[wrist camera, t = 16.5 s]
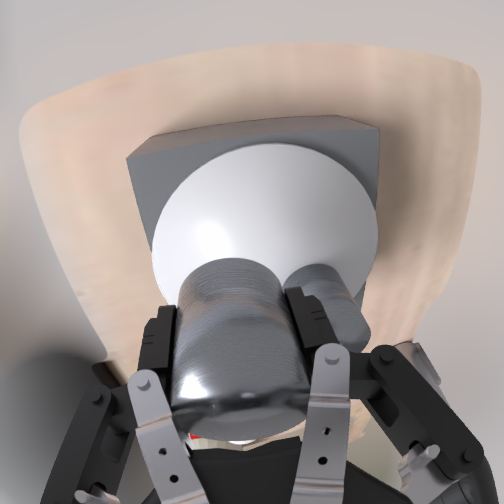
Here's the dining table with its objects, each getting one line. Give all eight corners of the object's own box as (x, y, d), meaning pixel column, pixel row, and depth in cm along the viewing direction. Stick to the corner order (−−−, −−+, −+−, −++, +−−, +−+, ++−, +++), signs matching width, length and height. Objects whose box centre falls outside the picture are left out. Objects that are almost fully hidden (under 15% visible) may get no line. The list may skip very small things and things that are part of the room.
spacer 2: (343, 258, 22) (376, 311, 17) (338, 306, 25) (363, 359, 20) (279, 269, 22) (299, 328, 17) (282, 317, 24) (298, 375, 19)
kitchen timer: (244, 429, 55) (252, 491, 42) (239, 449, 62) (246, 501, 49) (178, 430, 52) (180, 493, 40) (184, 450, 60) (186, 502, 47)
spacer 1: (280, 249, 13) (323, 361, 8) (284, 328, 15) (312, 428, 10) (165, 267, 12) (147, 385, 7) (192, 342, 15) (192, 445, 10)
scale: (344, 115, 25) (396, 132, 17) (339, 271, 34) (370, 324, 27) (150, 137, 24) (121, 162, 16) (188, 295, 33) (185, 357, 26)
